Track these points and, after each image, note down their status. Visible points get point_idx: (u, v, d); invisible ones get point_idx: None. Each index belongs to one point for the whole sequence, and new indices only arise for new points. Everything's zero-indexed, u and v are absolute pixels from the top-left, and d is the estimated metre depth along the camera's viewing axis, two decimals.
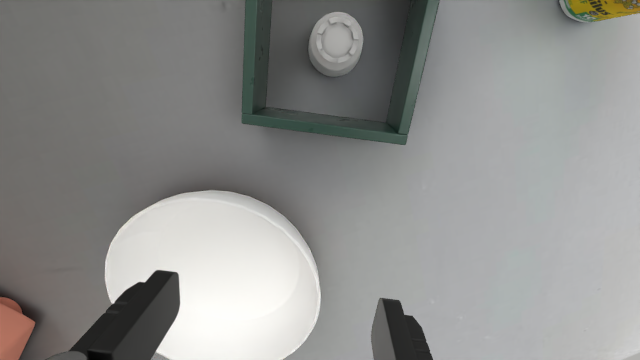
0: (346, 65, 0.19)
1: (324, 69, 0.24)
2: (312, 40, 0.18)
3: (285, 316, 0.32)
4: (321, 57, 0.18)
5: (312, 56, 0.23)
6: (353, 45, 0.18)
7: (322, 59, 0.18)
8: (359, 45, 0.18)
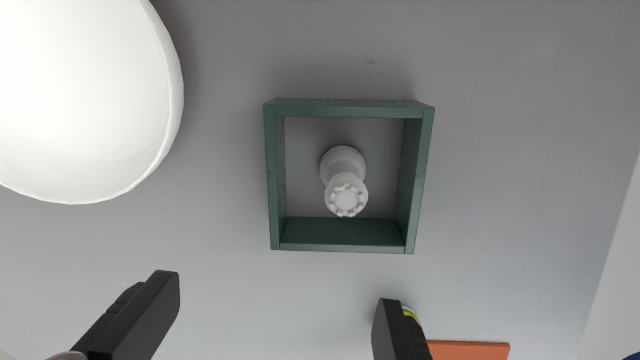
0: (328, 206, 0.22)
1: (324, 166, 0.27)
2: (344, 179, 0.21)
3: (39, 153, 0.26)
4: (332, 188, 0.21)
5: (333, 155, 0.26)
6: (344, 212, 0.22)
7: (331, 188, 0.21)
8: (344, 215, 0.22)
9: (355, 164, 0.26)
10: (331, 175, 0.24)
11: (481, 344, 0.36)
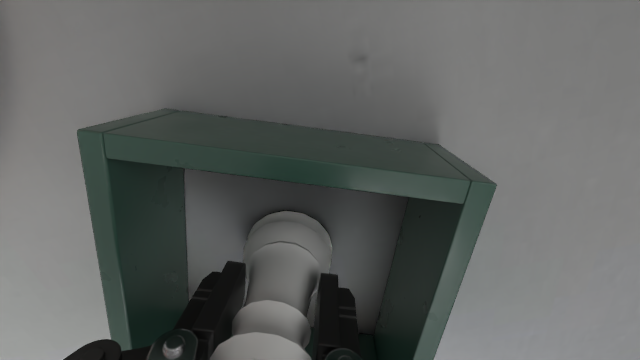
0: None
1: (249, 252, 0.14)
2: (258, 342, 0.08)
3: None
4: None
5: (269, 233, 0.13)
6: None
7: None
8: None
9: (307, 259, 0.13)
10: (250, 288, 0.11)
11: None
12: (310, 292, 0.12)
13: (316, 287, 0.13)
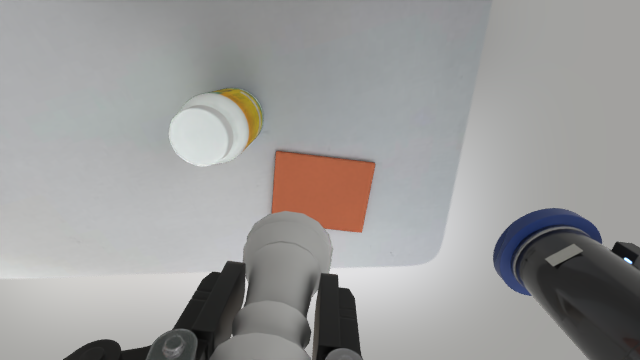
0: None
1: (249, 252, 0.14)
2: (258, 343, 0.08)
3: None
4: None
5: (269, 234, 0.13)
6: None
7: None
8: None
9: (307, 260, 0.13)
10: (250, 288, 0.11)
11: (341, 159, 0.30)
12: (310, 292, 0.12)
13: (316, 287, 0.13)
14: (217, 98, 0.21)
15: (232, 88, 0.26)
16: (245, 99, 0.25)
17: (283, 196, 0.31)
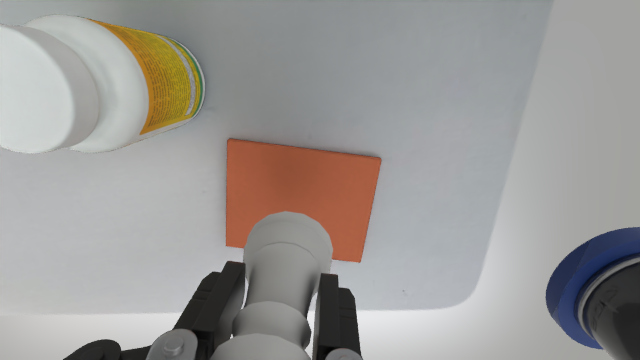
0: None
1: (249, 253, 0.14)
2: (258, 344, 0.08)
3: None
4: None
5: (269, 234, 0.13)
6: None
7: None
8: None
9: (307, 260, 0.13)
10: (250, 289, 0.11)
11: (329, 152, 0.19)
12: (310, 293, 0.12)
13: (316, 288, 0.13)
14: (73, 22, 0.11)
15: None
16: (157, 43, 0.14)
17: (242, 208, 0.21)
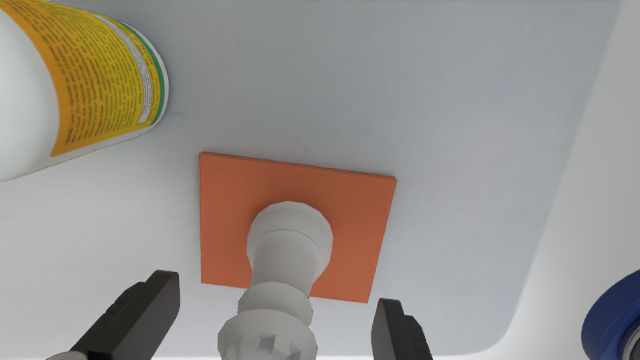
0: None
1: (253, 240, 0.14)
2: (264, 318, 0.09)
3: None
4: (232, 336, 0.09)
5: (272, 222, 0.14)
6: None
7: (229, 336, 0.09)
8: None
9: (309, 246, 0.13)
10: (255, 272, 0.12)
11: (330, 170, 0.15)
12: (312, 277, 0.13)
13: (317, 273, 0.14)
14: None
15: None
16: (88, 24, 0.10)
17: (220, 238, 0.16)
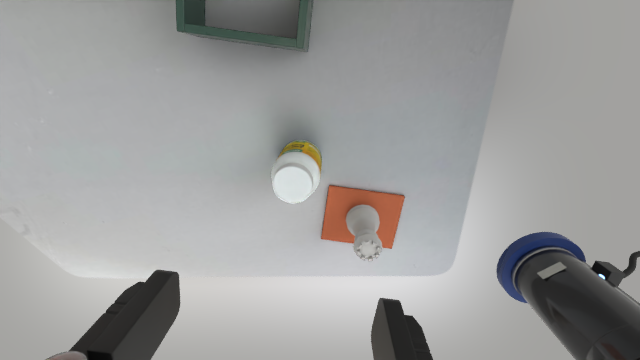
0: (355, 251, 0.34)
1: (351, 219, 0.38)
2: (369, 236, 0.33)
3: None
4: (360, 241, 0.33)
5: (359, 212, 0.38)
6: (365, 257, 0.33)
7: (359, 241, 0.33)
8: (365, 258, 0.34)
9: (373, 220, 0.37)
10: (357, 228, 0.36)
11: (379, 192, 0.39)
12: (375, 231, 0.36)
13: (375, 231, 0.38)
14: (302, 156, 0.31)
15: (301, 141, 0.36)
16: (314, 152, 0.34)
17: (332, 219, 0.40)
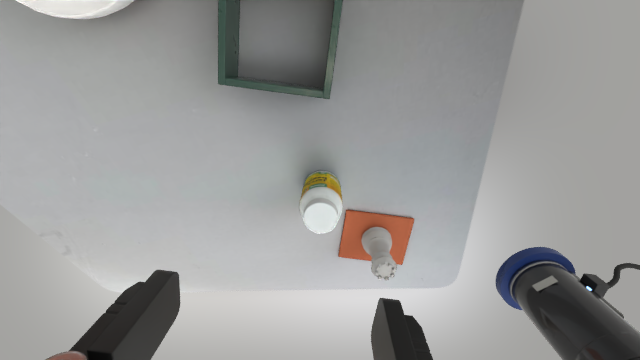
0: (373, 272, 0.38)
1: (367, 240, 0.42)
2: (385, 259, 0.37)
3: None
4: (377, 263, 0.37)
5: (374, 234, 0.42)
6: (382, 276, 0.38)
7: (376, 263, 0.37)
8: (381, 277, 0.38)
9: (387, 242, 0.42)
10: (373, 249, 0.40)
11: (391, 216, 0.43)
12: None
13: (388, 251, 0.42)
14: (327, 191, 0.35)
15: (323, 173, 0.40)
16: (335, 184, 0.38)
17: (349, 239, 0.45)
